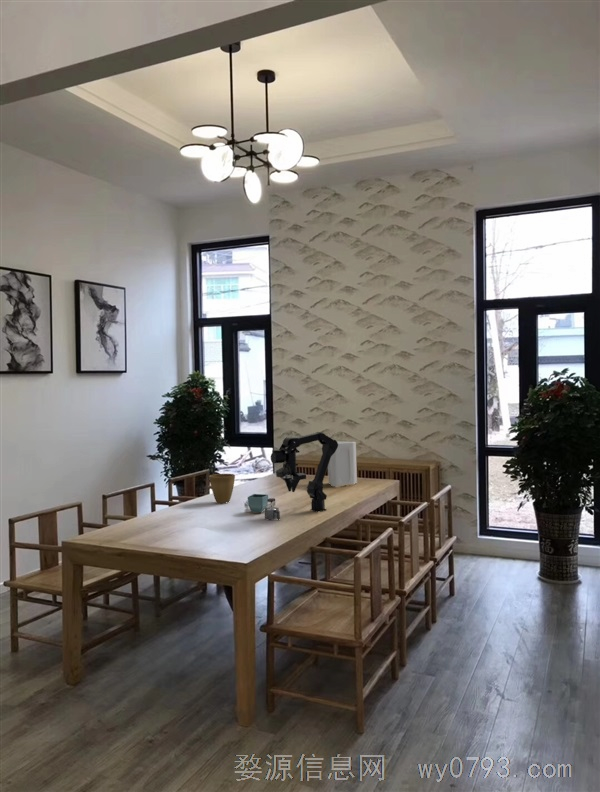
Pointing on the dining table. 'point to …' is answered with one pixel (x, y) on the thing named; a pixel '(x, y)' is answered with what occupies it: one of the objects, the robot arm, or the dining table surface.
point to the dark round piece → (271, 503)
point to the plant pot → (222, 486)
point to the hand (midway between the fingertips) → (291, 491)
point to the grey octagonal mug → (272, 513)
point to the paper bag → (343, 465)
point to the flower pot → (257, 502)
